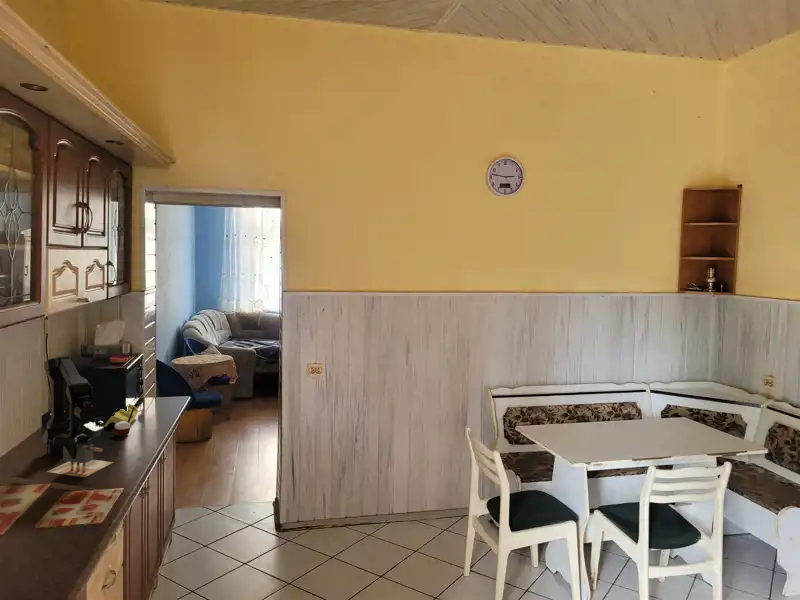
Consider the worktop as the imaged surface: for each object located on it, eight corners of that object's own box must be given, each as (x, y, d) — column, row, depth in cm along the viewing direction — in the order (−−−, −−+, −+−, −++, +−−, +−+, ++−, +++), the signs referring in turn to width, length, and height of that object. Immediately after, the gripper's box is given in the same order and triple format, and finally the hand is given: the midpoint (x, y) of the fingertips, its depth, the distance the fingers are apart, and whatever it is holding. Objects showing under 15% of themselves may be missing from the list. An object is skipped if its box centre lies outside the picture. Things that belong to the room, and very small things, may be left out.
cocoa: (111, 438, 271) (110, 412, 269) (113, 433, 277) (111, 408, 275) (134, 436, 274) (133, 410, 272) (135, 431, 280) (134, 406, 278)
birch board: (46, 475, 225) (46, 471, 225) (77, 461, 241) (77, 457, 241) (84, 481, 222) (84, 476, 222) (113, 466, 238) (113, 462, 238)
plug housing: (63, 460, 226) (63, 444, 225) (72, 456, 230) (72, 441, 229) (97, 465, 223) (97, 449, 222) (105, 461, 227) (105, 445, 227)
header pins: (70, 470, 227) (70, 462, 227) (71, 469, 228) (71, 461, 228) (84, 472, 226) (84, 464, 226) (86, 471, 227) (86, 463, 227)
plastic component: (130, 423, 285) (109, 414, 283) (123, 436, 286) (102, 428, 284) (140, 408, 305) (121, 400, 302) (133, 421, 305) (114, 413, 303)
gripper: (80, 424, 215) (79, 468, 216) (114, 411, 233) (114, 451, 234) (52, 421, 217) (52, 464, 218) (88, 408, 235) (88, 447, 236)
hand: (78, 456), depth 227 cm, fingers closed on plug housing, 4 cm apart
